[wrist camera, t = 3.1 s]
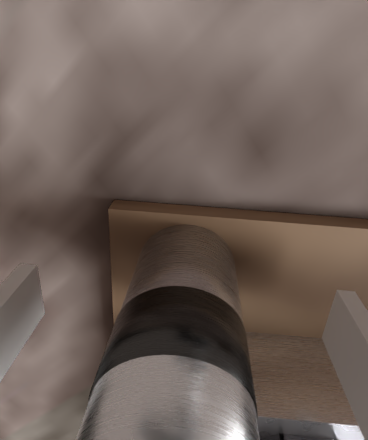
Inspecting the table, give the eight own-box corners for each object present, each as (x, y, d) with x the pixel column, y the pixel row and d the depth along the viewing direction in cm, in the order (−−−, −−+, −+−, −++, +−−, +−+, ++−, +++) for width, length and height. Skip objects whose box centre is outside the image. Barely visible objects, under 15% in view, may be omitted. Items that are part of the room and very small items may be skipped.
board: (114, 199, 17) (108, 208, 16) (510, 230, 16) (532, 241, 15) (122, 429, 25) (119, 445, 24) (387, 455, 25) (396, 473, 24)
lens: (137, 219, 16) (46, 425, 7) (241, 227, 16) (290, 450, 7) (138, 301, 18) (69, 541, 9) (229, 310, 18) (253, 562, 9)
